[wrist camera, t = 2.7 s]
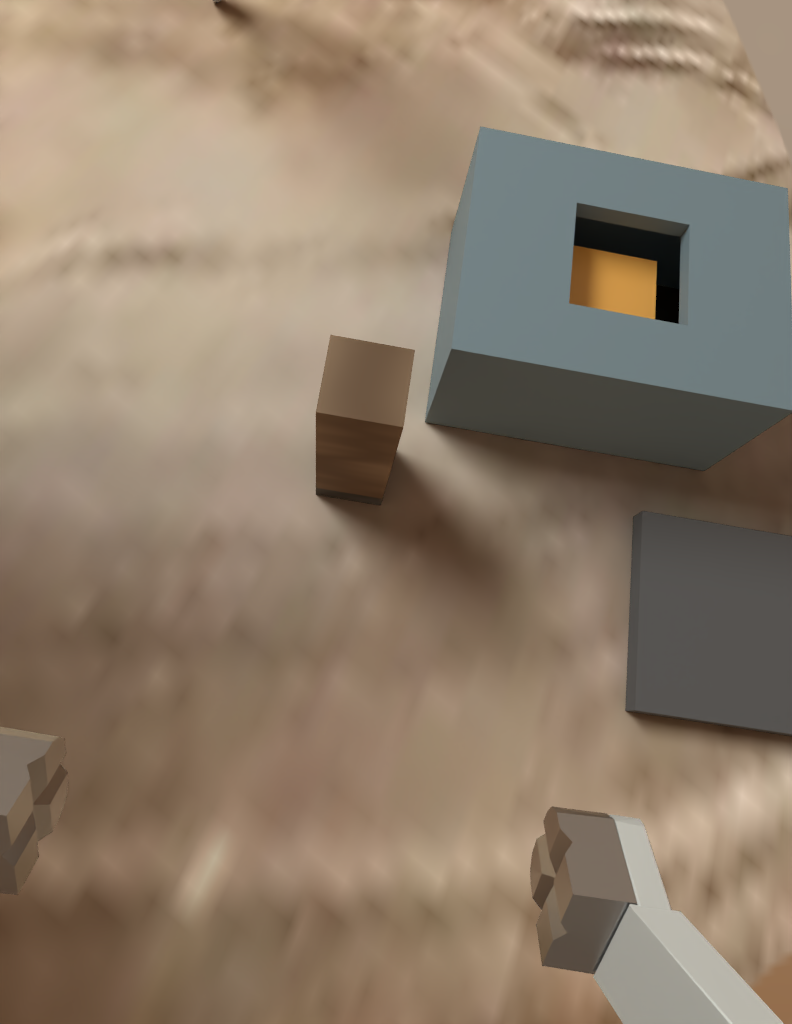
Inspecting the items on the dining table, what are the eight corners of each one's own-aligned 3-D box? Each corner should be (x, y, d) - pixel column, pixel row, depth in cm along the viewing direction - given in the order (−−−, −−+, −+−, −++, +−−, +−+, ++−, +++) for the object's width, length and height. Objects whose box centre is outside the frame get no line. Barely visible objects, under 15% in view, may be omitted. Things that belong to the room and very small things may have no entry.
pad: (625, 710, 31) (635, 710, 30) (633, 517, 34) (642, 510, 33) (820, 740, 32) (835, 740, 31) (812, 547, 35) (826, 542, 34)
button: (546, 351, 33) (565, 321, 31) (553, 279, 35) (571, 244, 32) (629, 366, 34) (654, 338, 31) (632, 294, 35) (656, 261, 32)
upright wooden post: (316, 494, 33) (315, 412, 24) (326, 434, 34) (330, 334, 25) (380, 505, 33) (403, 427, 24) (389, 445, 34) (414, 350, 25)
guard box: (424, 422, 34) (451, 348, 28) (451, 233, 38) (480, 126, 31) (704, 470, 35) (795, 410, 29) (706, 281, 39) (787, 188, 32)
